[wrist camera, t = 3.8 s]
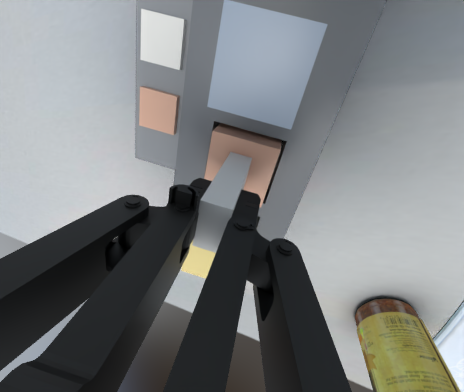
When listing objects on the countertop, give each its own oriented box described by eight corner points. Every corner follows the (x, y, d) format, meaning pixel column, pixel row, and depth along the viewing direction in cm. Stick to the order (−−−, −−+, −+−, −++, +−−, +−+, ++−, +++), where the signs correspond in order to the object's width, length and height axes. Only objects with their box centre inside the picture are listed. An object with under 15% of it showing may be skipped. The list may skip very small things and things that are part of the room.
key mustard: (256, 215, 20) (250, 246, 17) (243, 254, 23) (235, 288, 19) (204, 199, 21) (188, 227, 17) (197, 239, 23) (181, 270, 20)
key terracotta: (282, 133, 19) (280, 149, 16) (265, 184, 21) (261, 207, 18) (226, 118, 19) (212, 130, 16) (215, 169, 22) (202, 190, 18)
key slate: (318, 33, 14) (327, 24, 10) (290, 115, 16) (291, 129, 13) (239, 14, 14) (224, -1, 11) (224, 96, 16) (207, 106, 13)
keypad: (591, -527, 8) (746, -828, 5) (265, 263, 26) (263, 285, 24) (172, -564, 9) (121, -832, 6) (144, 225, 27) (129, 242, 24)
